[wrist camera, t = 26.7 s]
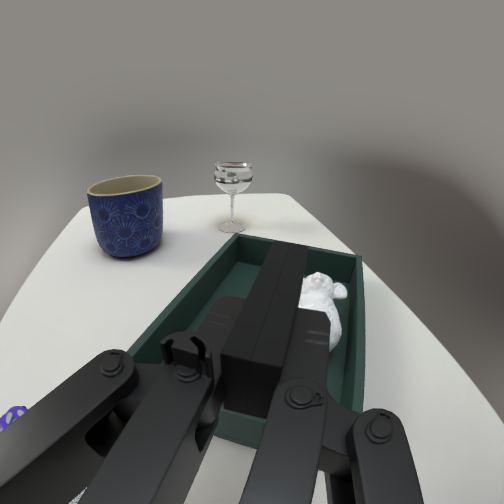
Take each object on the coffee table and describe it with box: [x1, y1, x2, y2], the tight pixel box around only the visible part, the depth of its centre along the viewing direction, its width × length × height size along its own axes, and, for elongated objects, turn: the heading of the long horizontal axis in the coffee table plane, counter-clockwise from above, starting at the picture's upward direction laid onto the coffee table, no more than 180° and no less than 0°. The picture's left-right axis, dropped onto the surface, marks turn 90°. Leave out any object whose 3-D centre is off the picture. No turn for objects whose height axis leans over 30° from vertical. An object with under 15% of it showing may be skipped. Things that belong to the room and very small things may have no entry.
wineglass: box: [214, 162, 253, 233], centre depth 50 cm, size 7×7×12 cm
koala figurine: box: [298, 272, 347, 352], centre depth 26 cm, size 8×7×12 cm
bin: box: [127, 233, 365, 449], centre depth 27 cm, size 18×26×5 cm
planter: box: [87, 175, 163, 257], centre depth 42 cm, size 12×12×11 cm
